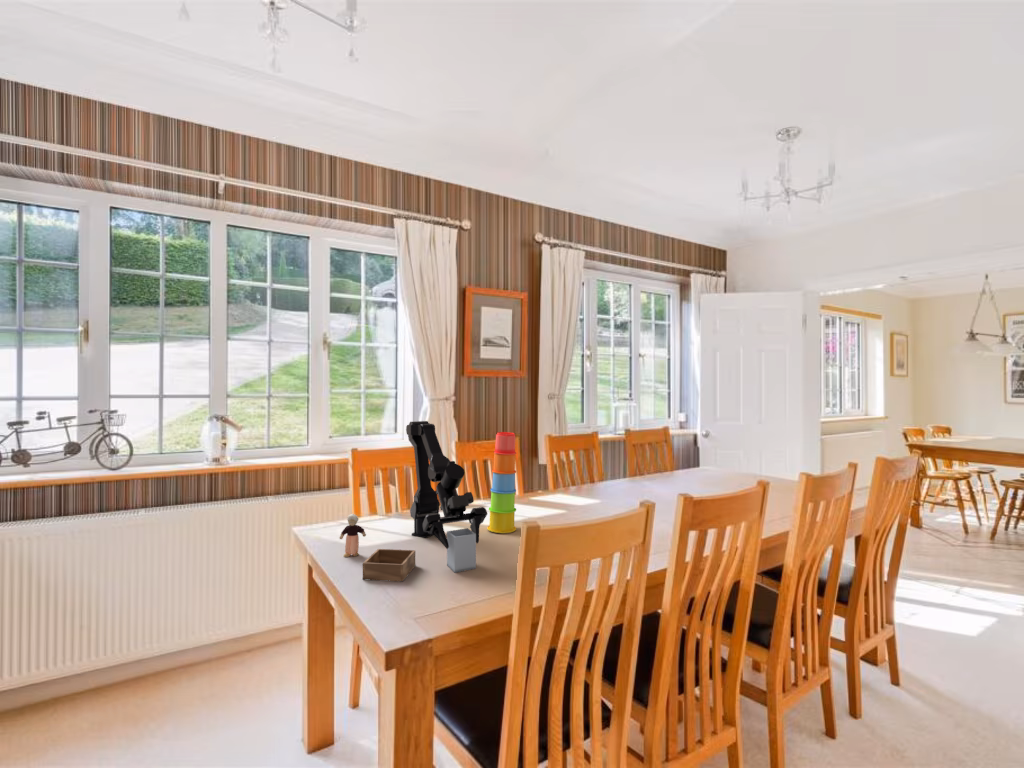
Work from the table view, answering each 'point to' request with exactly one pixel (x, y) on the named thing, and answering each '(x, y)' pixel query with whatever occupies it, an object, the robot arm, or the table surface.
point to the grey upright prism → (461, 550)
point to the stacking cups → (503, 485)
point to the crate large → (389, 564)
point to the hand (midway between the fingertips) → (463, 545)
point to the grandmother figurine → (352, 536)
